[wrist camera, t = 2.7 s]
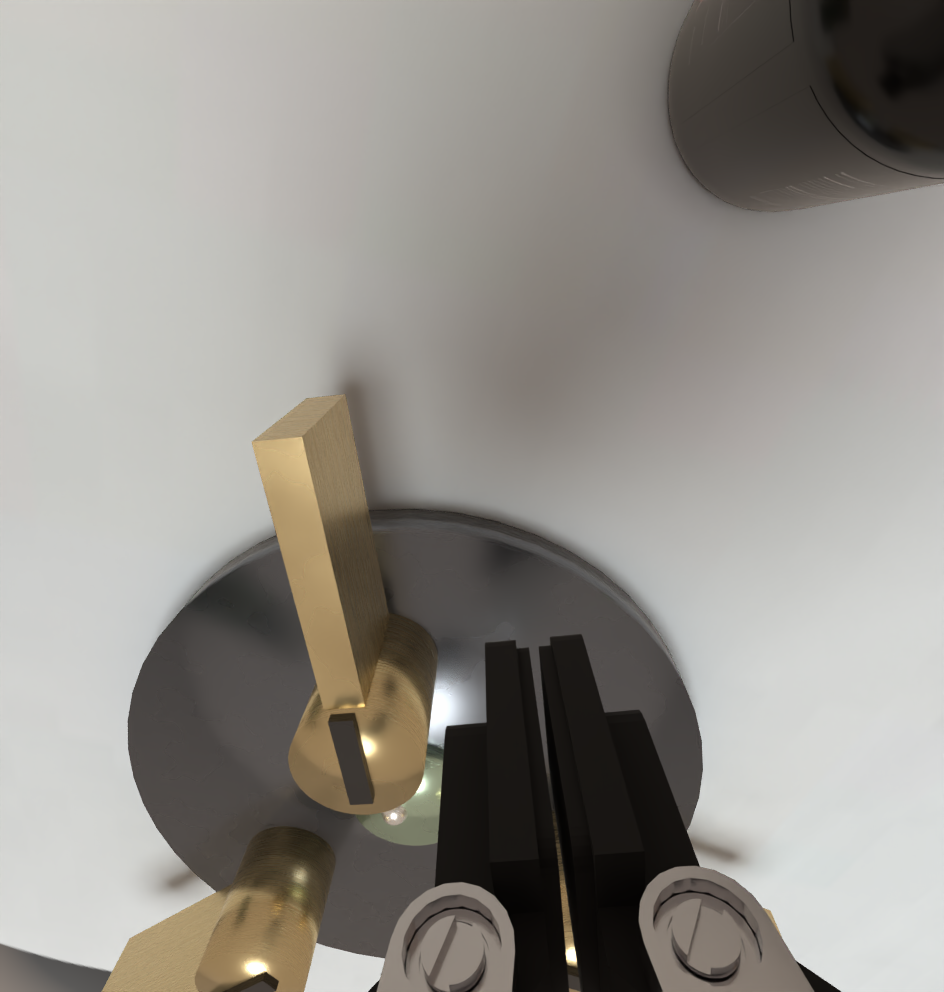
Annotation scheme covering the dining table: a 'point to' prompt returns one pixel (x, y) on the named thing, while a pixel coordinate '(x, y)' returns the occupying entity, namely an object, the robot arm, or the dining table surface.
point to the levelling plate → (457, 700)
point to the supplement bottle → (809, 99)
